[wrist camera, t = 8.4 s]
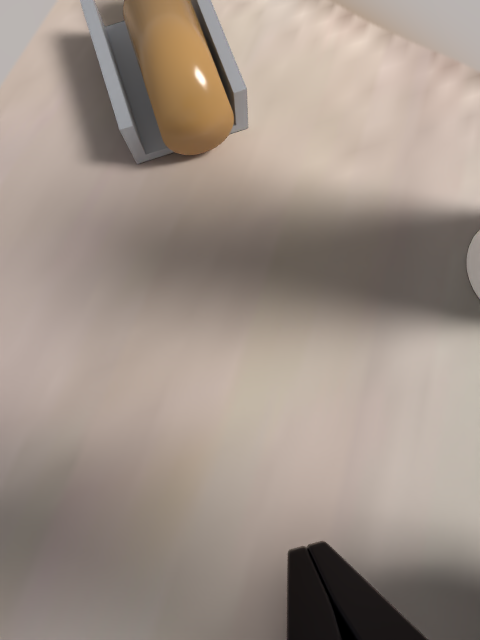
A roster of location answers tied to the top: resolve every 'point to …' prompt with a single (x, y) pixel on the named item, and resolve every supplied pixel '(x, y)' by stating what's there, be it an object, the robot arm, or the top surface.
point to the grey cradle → (130, 85)
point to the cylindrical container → (474, 263)
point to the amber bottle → (179, 74)
